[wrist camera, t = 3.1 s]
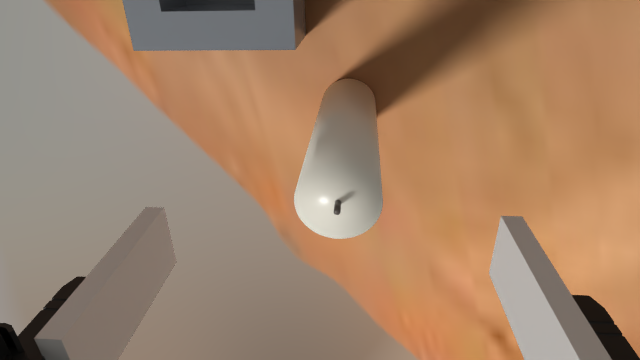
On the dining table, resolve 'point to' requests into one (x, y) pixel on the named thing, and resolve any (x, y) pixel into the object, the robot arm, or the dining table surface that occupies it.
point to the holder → (215, 24)
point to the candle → (342, 164)
